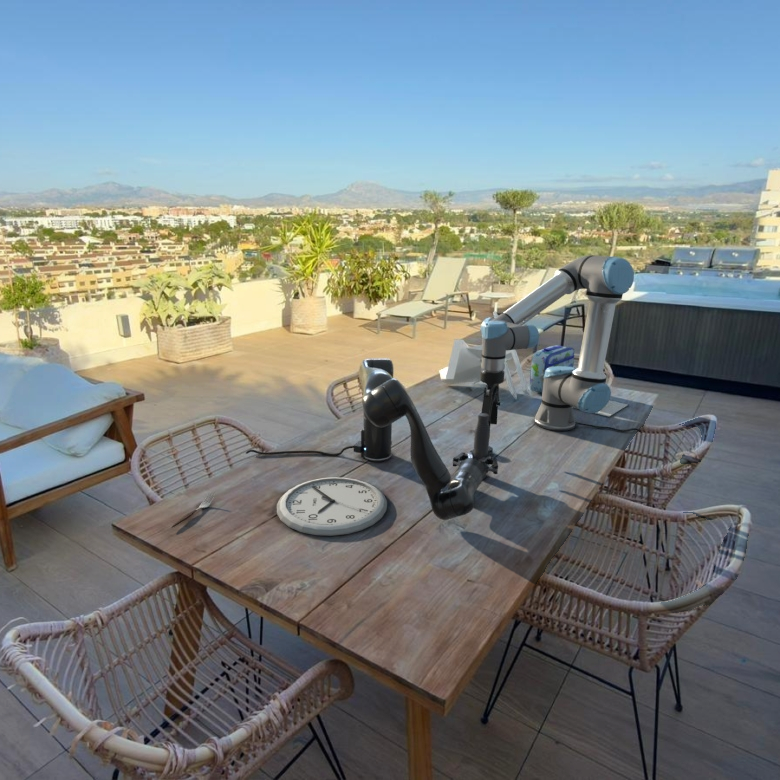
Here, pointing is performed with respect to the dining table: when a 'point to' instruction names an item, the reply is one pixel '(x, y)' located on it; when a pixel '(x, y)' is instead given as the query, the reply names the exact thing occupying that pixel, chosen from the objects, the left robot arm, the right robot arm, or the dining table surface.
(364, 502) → the wall clock
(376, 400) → the left robot arm
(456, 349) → the white plastic object
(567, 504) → the dining table surface
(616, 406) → the invitation card
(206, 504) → the fork
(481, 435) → the bottle
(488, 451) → the cap
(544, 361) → the lunch box
